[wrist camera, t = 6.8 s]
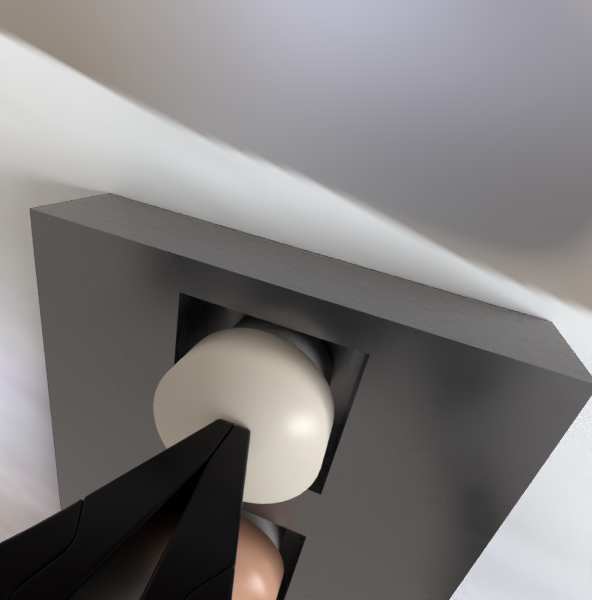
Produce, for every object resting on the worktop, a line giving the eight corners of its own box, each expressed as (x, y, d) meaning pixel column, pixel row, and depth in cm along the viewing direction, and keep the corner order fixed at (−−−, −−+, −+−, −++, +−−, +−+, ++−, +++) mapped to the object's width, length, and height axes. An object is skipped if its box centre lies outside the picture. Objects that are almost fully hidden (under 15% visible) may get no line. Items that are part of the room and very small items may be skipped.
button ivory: (363, 327, 11) (344, 395, 8) (325, 440, 13) (300, 527, 10) (220, 282, 12) (157, 330, 9) (206, 395, 13) (150, 464, 11)
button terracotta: (309, 492, 14) (282, 583, 11) (286, 562, 16) (258, 656, 13) (199, 448, 15) (147, 523, 12) (189, 520, 16) (143, 600, 14)
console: (551, 322, 10) (598, 385, 8) (350, 671, 20) (340, 755, 17) (109, 193, 13) (29, 208, 10) (113, 560, 22) (72, 619, 19)
